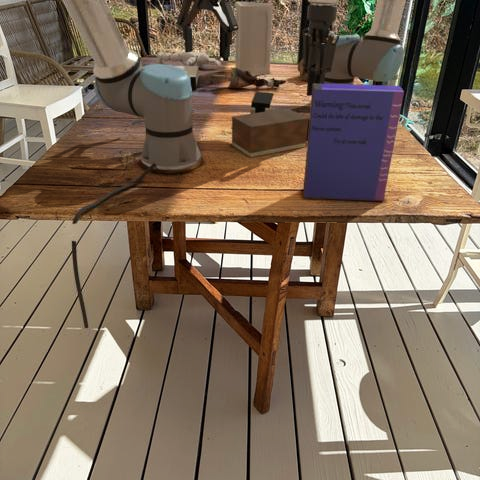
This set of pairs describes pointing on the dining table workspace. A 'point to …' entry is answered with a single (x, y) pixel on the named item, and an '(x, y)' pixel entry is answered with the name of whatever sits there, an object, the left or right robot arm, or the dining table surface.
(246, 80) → the figurine
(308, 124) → the drawer
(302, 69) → the anatomical model
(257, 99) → the figurine character
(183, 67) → the disc drive
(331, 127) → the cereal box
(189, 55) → the toy
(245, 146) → the wooden chest box
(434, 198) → the dining table surface
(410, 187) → the dining table surface
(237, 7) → the paper bag
